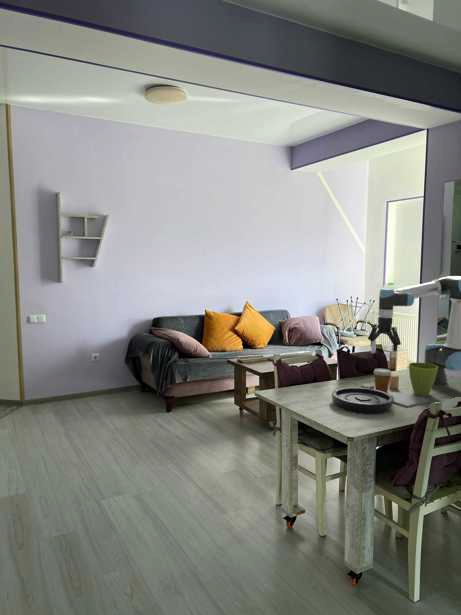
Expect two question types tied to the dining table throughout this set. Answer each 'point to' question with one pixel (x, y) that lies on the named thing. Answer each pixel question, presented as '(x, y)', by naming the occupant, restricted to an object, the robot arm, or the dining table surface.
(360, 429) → the dining table surface
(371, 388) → the walnut block
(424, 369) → the flower pot
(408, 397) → the slate board
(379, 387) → the disposable coffee cup
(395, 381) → the light brown egg
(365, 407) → the round tray
